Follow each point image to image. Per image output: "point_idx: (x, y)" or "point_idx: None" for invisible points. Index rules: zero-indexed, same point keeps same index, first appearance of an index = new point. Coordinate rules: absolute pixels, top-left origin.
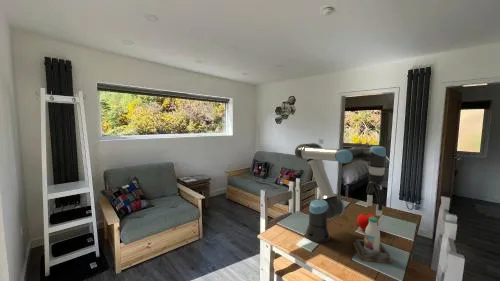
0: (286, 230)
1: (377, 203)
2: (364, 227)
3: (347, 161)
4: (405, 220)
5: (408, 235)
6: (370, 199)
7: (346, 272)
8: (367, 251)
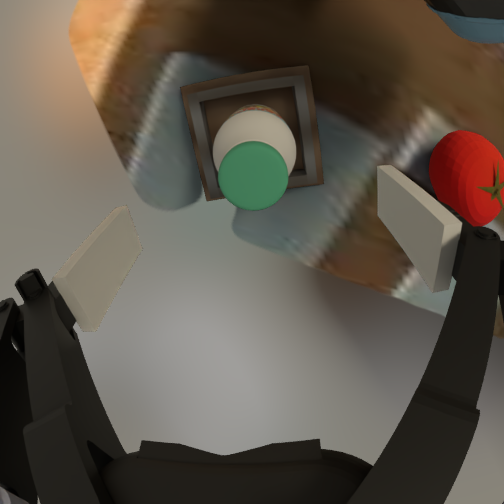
0: None
1: (20, 284)
2: (435, 151)
3: None
4: None
5: (418, 297)
6: (409, 232)
7: (89, 45)
8: (199, 112)
